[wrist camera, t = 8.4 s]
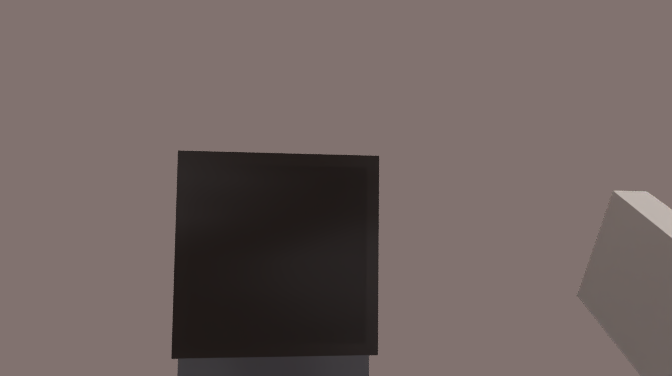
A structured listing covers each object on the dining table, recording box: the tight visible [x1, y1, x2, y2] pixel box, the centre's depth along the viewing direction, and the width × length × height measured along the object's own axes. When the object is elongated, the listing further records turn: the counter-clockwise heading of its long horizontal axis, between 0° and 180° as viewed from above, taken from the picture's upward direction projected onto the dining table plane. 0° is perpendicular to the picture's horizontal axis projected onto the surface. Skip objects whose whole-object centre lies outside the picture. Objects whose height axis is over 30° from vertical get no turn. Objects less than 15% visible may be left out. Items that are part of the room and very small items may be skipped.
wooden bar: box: [172, 151, 379, 359], centre depth 22 cm, size 3×26×3 cm, turn 7°
